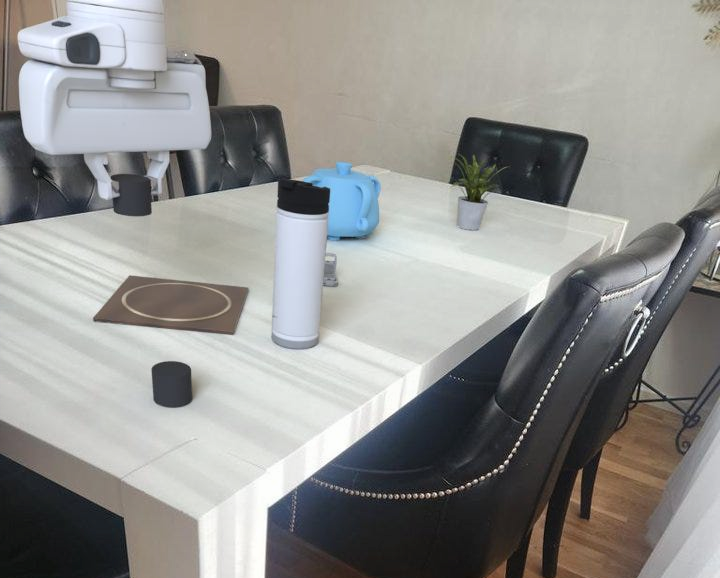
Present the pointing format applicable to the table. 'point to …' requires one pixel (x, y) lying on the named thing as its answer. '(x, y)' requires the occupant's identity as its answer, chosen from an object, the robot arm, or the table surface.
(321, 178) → the decorative pot
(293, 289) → the travel mug
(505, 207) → the table surface
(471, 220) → the house plant
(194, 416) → the table surface
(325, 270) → the strap clip
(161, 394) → the eye puck
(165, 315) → the board
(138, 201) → the eye puck
